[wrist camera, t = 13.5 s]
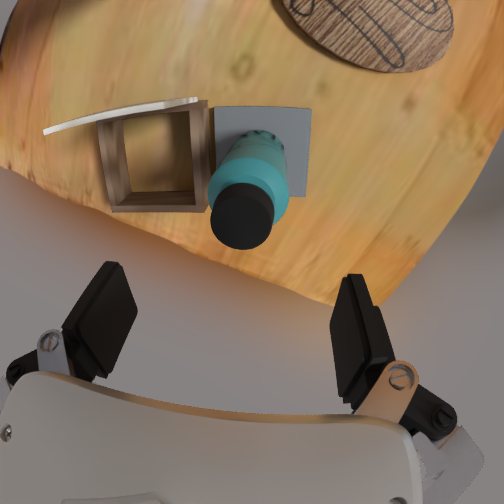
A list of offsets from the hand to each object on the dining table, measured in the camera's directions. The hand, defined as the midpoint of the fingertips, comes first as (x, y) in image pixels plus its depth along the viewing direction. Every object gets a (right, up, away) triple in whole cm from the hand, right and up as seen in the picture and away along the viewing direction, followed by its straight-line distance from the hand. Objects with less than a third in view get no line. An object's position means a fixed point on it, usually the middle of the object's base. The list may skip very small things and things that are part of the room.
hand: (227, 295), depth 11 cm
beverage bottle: (+2, +15, +22) cm, 27 cm away
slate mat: (+2, +15, +23) cm, 27 cm away
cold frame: (-12, +16, +24) cm, 31 cm away
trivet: (+16, +35, +8) cm, 40 cm away
